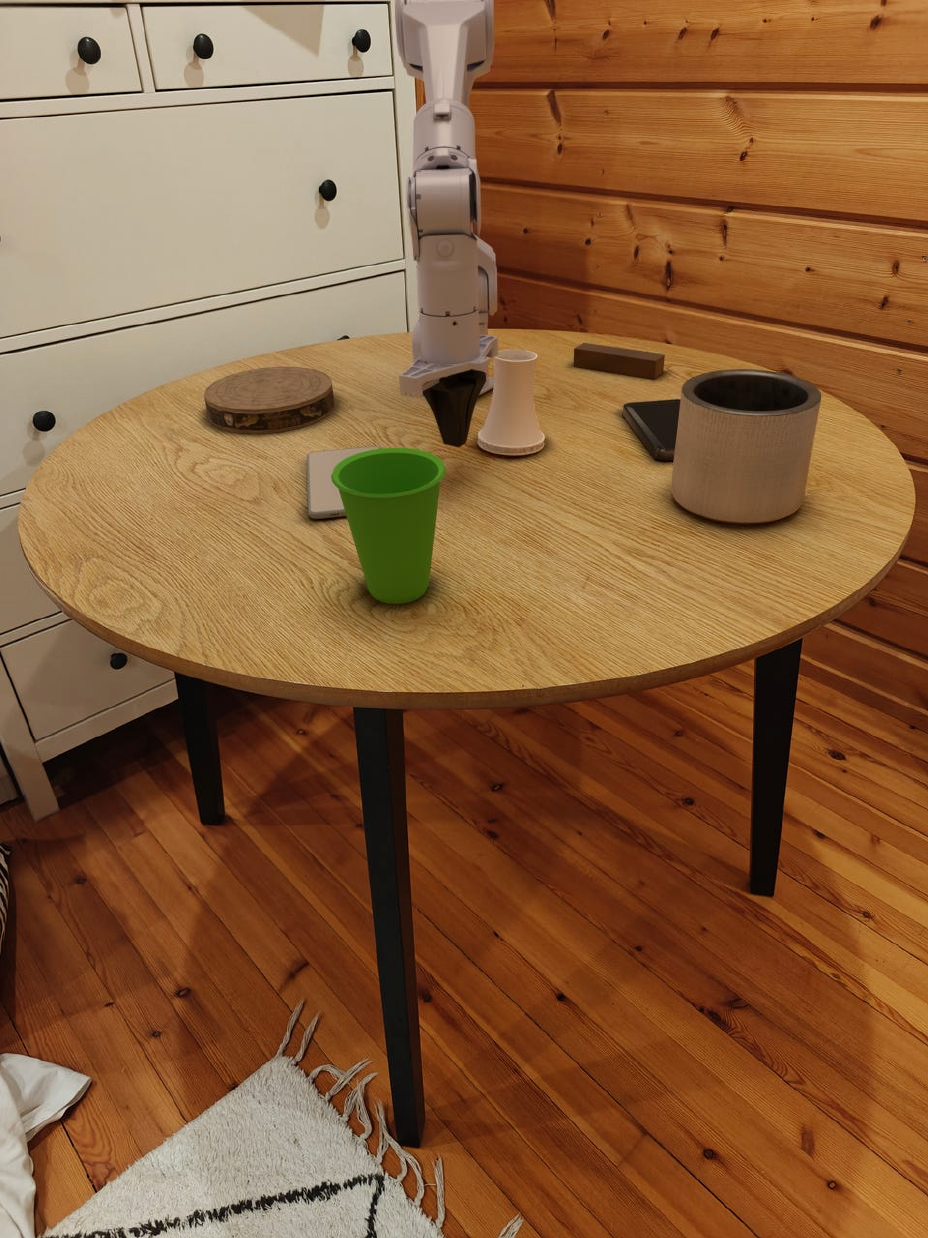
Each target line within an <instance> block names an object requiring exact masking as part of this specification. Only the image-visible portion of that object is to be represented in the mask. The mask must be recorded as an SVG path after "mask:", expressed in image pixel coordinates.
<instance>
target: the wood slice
mask: <svg viewBox="0 0 928 1238" xmlns="http://www.w3.org/2000/svg"><path fill="white" fill-rule="evenodd" d="M203 399H204V404H205V408H206V413H207V418H208V421H209V422H210V423H211V424H212V426H214V427H216V428H218V429H221V430H222V431H227V432H233V433H237V434H256V435H257V434H260V435H261V434H271V433H281V432H287V431H291V430H296V429H301V428H305V427H307V426H310V425H313V424H315V423H318V422H320V421H321V420H323V419H324V418H327V417H328V416H329V415H330V414H332V412H333V411H334V410H335V398H334V389H333V380H332V378H331V377H330V376H329V375H328V374H327V373H326V372H324V371H320V370H317V369H315V368H307V367H301V366H271V367H260V368H254V369H249V370H243V371H240V372H239V371H238V372H236V373H232V374H229V375H226V376H223V377H221V378H220V379H219V378H218V379H217V380H215V381H213V382H212V383H210V385H208V386H207V387H206V388H205V390H204V393H203Z"/></svg>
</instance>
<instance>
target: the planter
mask: <svg viewBox="0 0 928 1238" xmlns="http://www.w3.org/2000/svg"><path fill="white" fill-rule="evenodd" d="M680 392H681V393H680V399H681V401H680V411H679V420H678V429H677V437H676V446H675V454H674V460H673V462H672V471H671V482H670V490H671V496H672V497H673V499H674V500H675V502H677V503H678V505H680V507H682V508H684V509H685V510H686V511H688V512H690V513H691V514H693V515H695V516H697V517H699V518H702V519H704V520H708V521H713V522H716V523H721V524H728V525H738V526H749V525H750V526H751V525H763V524H768V523H773V522H777V521H780V520H781V519H784V518H786V517H789V516H790V515H792V514H794V513H796V512H797V511H798V510H799V509H800V508H801V506H802V504H803V502H804V498H805V494H806V489H807V483H808V477H809V472H810V465H811V458H812V453H813V447H814V443H815V436H816V431H817V430H816V429H817V424H818V419H819V413H820V407H821V402H822V392H821V391H820V389H819V388H818V387H817V386H815V385H814V384H813V383H811V382H809V381H807V380H806V379H803V378H800V377H797V376H795V375H791V374H787V373H783V372H777V371H773V370H764V369H749V368H734V369H733V368H730V369H721V370H720V369H719V370H713V371H708V372H703V373H701V374H698V375H695V376H693V377H691V378H688V379H687V380H686V381H685V382H684V383H683V384H682V385H681V391H680Z"/></svg>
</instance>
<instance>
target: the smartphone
mask: <svg viewBox="0 0 928 1238" xmlns="http://www.w3.org/2000/svg"><path fill="white" fill-rule="evenodd" d="M375 449H381V447H380V446H377V445H369V446H359V447H349V448H338V449H327V450H317V451H311V452H309V453H307V455H306V482H307V484H306V485H307V486H306V487H307V513H308V517H310V518H311V519H315V520H318V519H328V518H330V519H331V518H337V517H338V518H339V517H347V516H346V513H345V509H344V506H343V503H342V499H341V496H340V493H339V489H338V488H337V487H336V486H335V485H334V484H333V483H332V479H331V475H332V472H333V470H334V468H335V467H336V465H337V464H338V463H339V462H341V461H343V460H344V459H346V458H348V457H350V456H352V455H355V454H357V453H361V452H365V451H369V450H375Z"/></svg>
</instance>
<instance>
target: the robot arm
mask: <svg viewBox="0 0 928 1238" xmlns="http://www.w3.org/2000/svg"><path fill="white" fill-rule="evenodd" d="M494 1H495V0H394V22H395V37H396V45H397V47H396V48H397V52H398V56H399V57H400V60H401V63H402V66H403V68H404V69H405V71H406V75H407V76H409V77H412V78H415V79H417V80H420V81H422V82H423V83H424V84H423V86H424V95H425V103H424V104H423V105H422V106H420V108H419V109H418V111H417V112H416V114H415V116H414V119H413V132H412V133H413V134H412V135H413V138H412V140H413V141H412V177H410V176H407V178H406V185H405V202H406V218H407V226H408V230H409V233H410V239H411V245H412V256H413V261H414V262H416V265H415V269H416V289H417V290H416V291H417V305H418V318H419V319H418V320H417V322H416V323H415V325H414V328H413V331H412V336H411V350H412V364H411V365H410V366H409V367H408V368H407V369H406V370H405V371H404V372H402V373H400V374H399V375H398V377H399V378H398V382H399V395H401V396H404V397H410V398H414V399H418V398H420V397H422V396H423V397H424V398H425V400H426V402H427V404H428V405H429V408H430V409H431V412H432V414H433V416H434V419H435V421H436V425H437V428H438V431H439V434H440V438H441V441H442V443H443V445H446V446H449V447H455V448H461V447H462V446H464V445H465V444H466V443H467V441H468V438H469V437H468V436H469V433H470V427H471V422H472V419H473V414H474V410H475V407H476V404H477V402H478V399H479V397H480V396H482V395H483V394H485V393H487V392H488V391H490V390H492V389H493V387H494V376H489V375H490V374H489V366H490V358H491V359H493V357H495V356H497V355H498V351H499V337H498V336H495V335H489V332H488V331H489V330H488V329H489V328H488V327H489V326H488V323H489V316H492V317H493V316H495V314H496V313H497V311H498V272H497V271H498V267H497V265H496V263H497V262H496V253H495V252H494V248H493V247H492V246H491V245H490V244H488V243H487V242H485V241H484V239H483V240H482V239H481V238H480V234H481V229H482V198H481V197H482V195H481V194H482V193H481V191H482V189H481V178H480V174H479V171H478V161H477V158H476V122H475V121H476V120H475V118H474V115H473V113H472V112H471V110H470V95H471V92H472V88H473V86H474V83H475V80H476V79H478V78H480V77H482V76H484V75H486V74H489V73H490V72H491V66H492V65H493V63H494V52H495V7H494V6H495V4H494ZM474 223H475V224H476V231H477V235H476V234H475V233H474V229H473V228H474V227H473V226H474V225H473V224H474Z"/></svg>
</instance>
